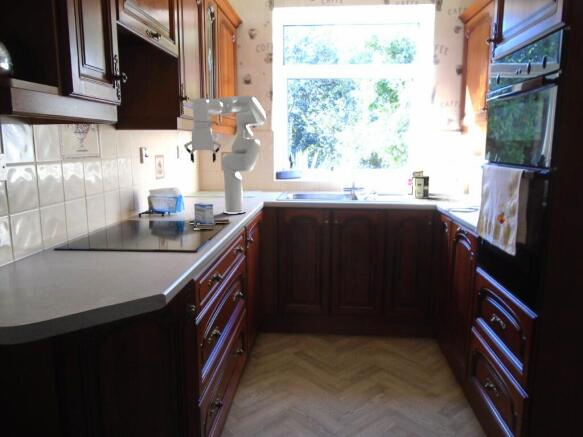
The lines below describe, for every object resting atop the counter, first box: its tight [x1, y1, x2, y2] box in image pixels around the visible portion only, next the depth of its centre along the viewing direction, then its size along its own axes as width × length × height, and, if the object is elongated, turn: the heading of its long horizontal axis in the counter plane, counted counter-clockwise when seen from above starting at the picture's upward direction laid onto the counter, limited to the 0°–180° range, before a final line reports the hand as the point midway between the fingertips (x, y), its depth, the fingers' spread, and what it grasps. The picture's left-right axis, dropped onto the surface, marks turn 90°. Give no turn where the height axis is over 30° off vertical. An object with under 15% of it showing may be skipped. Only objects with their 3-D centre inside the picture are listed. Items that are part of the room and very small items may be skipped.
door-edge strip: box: [189, 218, 230, 224], centre depth 209 cm, size 1×18×2 cm, turn 98°
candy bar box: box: [406, 169, 424, 195], centre depth 317 cm, size 11×5×16 cm, turn 126°
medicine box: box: [193, 202, 214, 224], centre depth 200 cm, size 8×4×9 cm, turn 52°
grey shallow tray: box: [192, 219, 216, 229], centre depth 201 cm, size 13×9×2 cm
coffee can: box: [412, 175, 430, 199], centre depth 296 cm, size 10×10×14 cm
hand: (203, 162), depth 213 cm, fingers open, 9 cm apart
